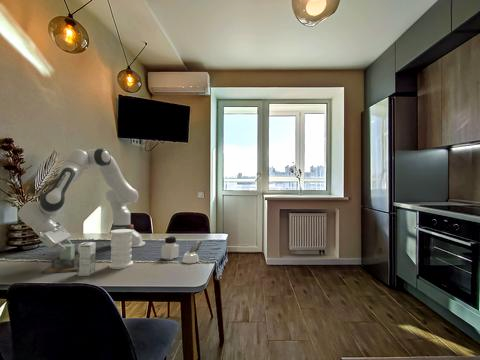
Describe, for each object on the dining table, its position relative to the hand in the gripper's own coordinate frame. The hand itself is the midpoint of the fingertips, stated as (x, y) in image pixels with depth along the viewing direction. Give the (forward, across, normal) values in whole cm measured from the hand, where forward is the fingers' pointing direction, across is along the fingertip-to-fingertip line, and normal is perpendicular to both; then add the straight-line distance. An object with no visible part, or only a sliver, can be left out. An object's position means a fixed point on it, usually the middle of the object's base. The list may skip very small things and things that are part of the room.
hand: (68, 248), depth 146 cm
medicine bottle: (+42, +11, -28) cm, 51 cm away
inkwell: (+51, +6, -38) cm, 64 cm away
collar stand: (+6, 0, +7) cm, 9 cm away
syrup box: (+15, -13, -2) cm, 20 cm away
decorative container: (+25, -1, -11) cm, 27 cm away
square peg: (+5, 0, +6) cm, 8 cm away
